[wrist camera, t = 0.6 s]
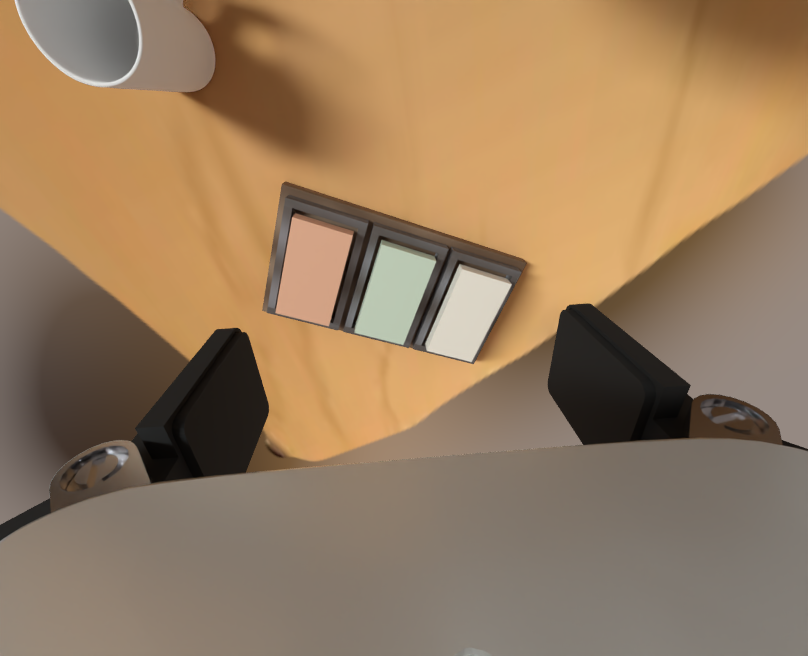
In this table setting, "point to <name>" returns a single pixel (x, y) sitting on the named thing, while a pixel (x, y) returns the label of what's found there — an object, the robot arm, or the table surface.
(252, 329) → the table surface
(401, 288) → the sage tile
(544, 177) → the table surface
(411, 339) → the dark grey tile board
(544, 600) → the robot arm
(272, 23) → the table surface
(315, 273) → the terracotta tile
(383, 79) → the table surface
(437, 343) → the cream tile
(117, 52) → the mug
